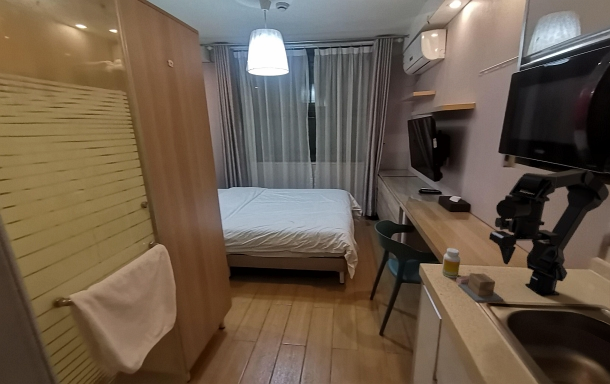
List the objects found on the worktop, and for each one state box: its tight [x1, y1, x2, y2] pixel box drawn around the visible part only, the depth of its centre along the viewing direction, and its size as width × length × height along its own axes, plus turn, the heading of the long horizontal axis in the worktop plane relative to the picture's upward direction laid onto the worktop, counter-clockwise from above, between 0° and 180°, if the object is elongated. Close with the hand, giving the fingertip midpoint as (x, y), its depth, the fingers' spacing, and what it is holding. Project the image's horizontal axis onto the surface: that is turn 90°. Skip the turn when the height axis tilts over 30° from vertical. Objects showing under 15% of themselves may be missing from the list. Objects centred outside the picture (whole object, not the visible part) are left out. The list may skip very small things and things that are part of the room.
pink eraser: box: [455, 275, 470, 284], centre depth 97 cm, size 5×2×2 cm, turn 104°
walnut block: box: [468, 272, 496, 296], centre depth 90 cm, size 5×5×5 cm
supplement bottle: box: [441, 247, 461, 279], centre depth 101 cm, size 5×5×10 cm
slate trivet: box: [457, 283, 504, 303], centre depth 91 cm, size 9×9×1 cm
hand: (519, 263), depth 86 cm, fingers open, 9 cm apart
